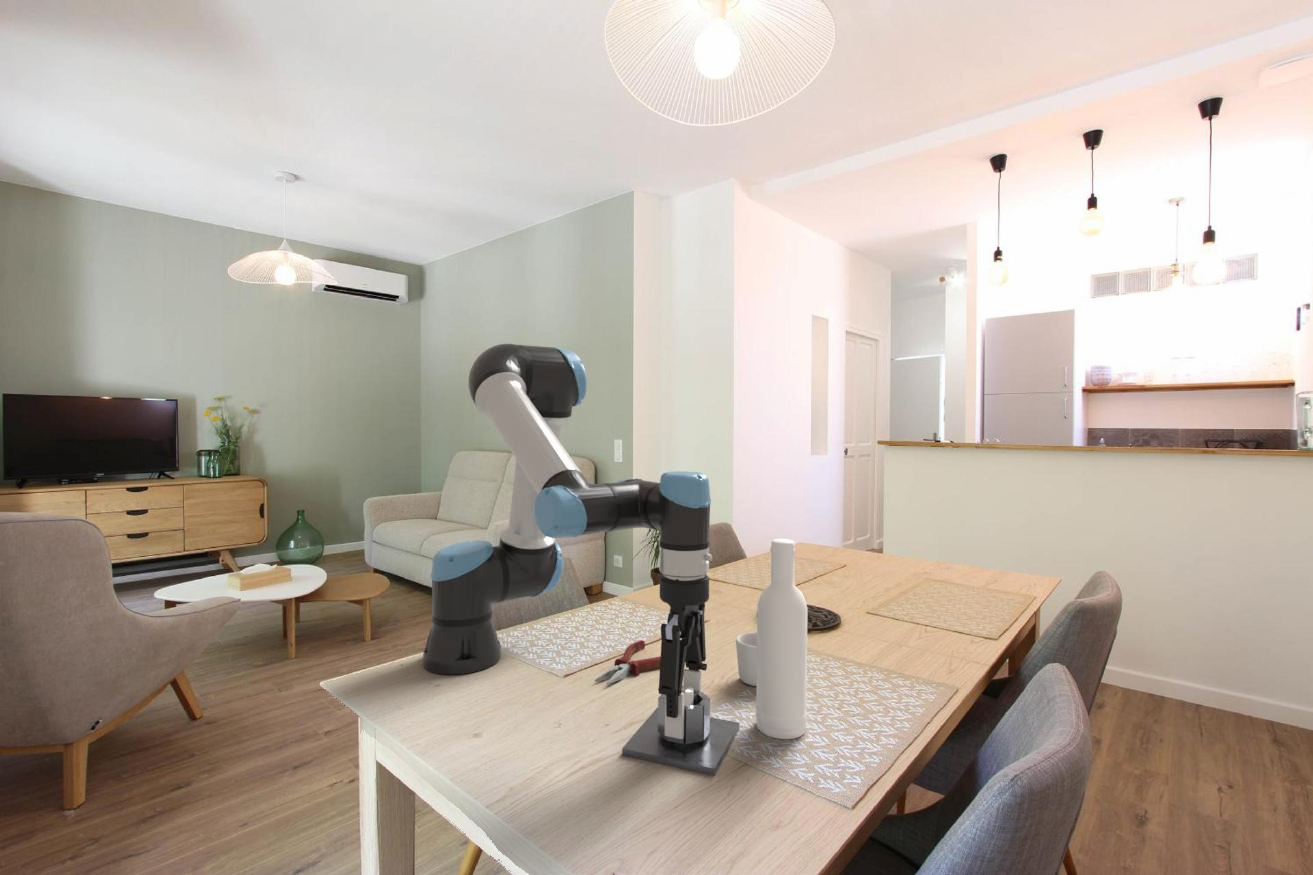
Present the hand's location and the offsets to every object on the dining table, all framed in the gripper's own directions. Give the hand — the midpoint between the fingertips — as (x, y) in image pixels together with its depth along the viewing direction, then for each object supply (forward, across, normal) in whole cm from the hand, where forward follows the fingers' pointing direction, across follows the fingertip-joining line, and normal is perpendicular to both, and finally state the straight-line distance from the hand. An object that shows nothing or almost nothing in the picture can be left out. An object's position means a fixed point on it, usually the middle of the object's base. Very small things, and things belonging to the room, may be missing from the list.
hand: (683, 723), depth 94 cm
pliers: (+4, +24, +20) cm, 31 cm away
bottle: (+3, +10, -13) cm, 17 cm away
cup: (+3, +26, -7) cm, 27 cm away
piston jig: (+3, 0, 0) cm, 3 cm away
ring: (+1, 0, 0) cm, 1 cm away
